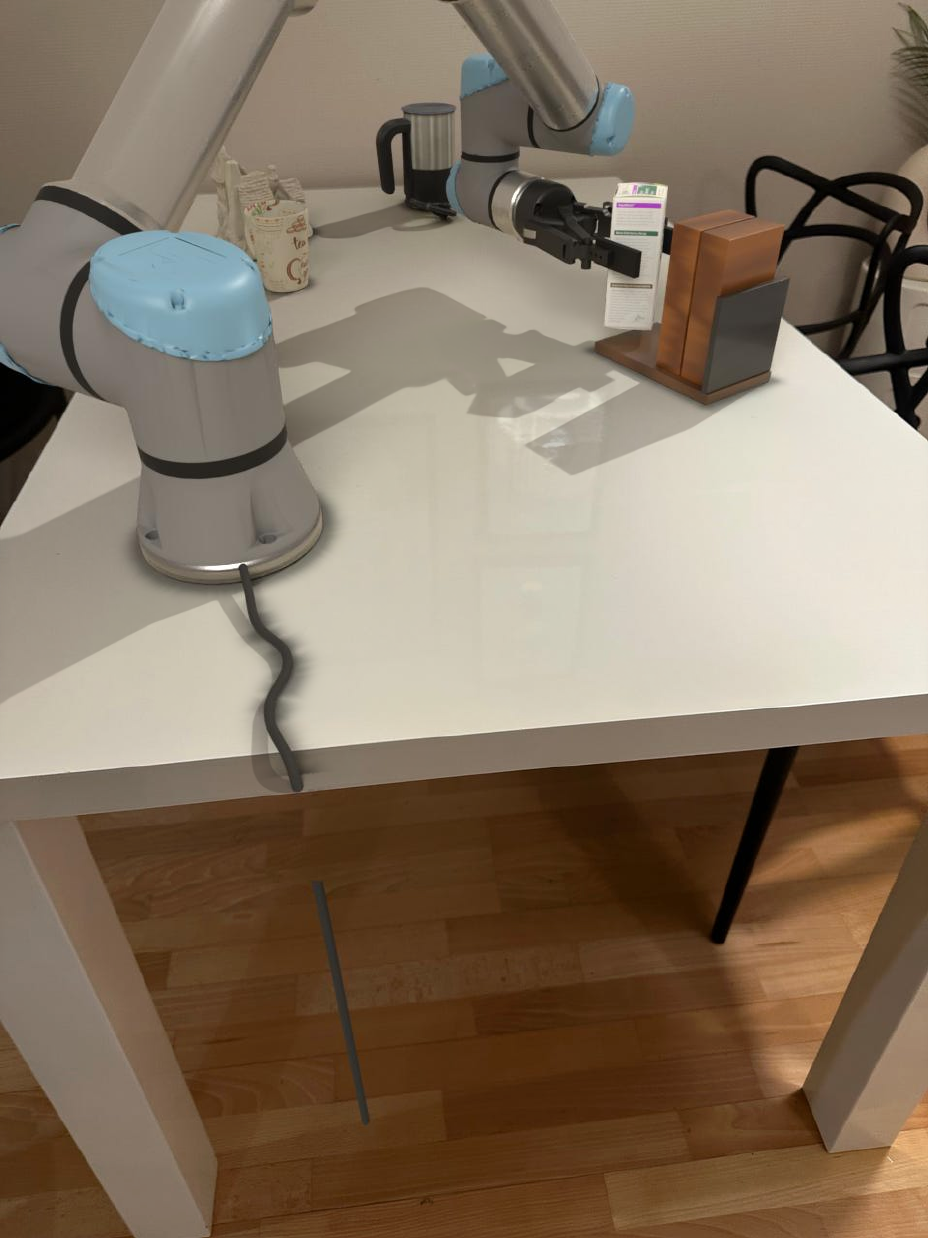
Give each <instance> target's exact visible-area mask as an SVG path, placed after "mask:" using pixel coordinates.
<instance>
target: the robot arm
mask: <svg viewBox="0 0 928 1238" xmlns="http://www.w3.org/2000/svg"><path fill="white" fill-rule="evenodd" d="M318 1H319V0H165V2H164V3H163V6H162V7H161V9H160V11H159V13H158V15H157V16H156V18H155V20H154V23H153V25H152V26H151V28H150V30H149V32H148V34H147V36H146V38H145V39H144V42H143V43H142V45H141V47H140V49H139V51H138V53H137V55H136V56H135V58H134V60H133V62H132V64H131V66H130V67H129V69H128V71H127V74H126V76H125V77H124V78H123V81H122V83H121V85H120V87H119V89H117V93H116V94H115V96H114V98H113V100H112V102H111V103H110V106H109V107H108V109H107V111H106V112H105V115H104V117H103V118H102V120H101V122H100V124H99V126H98V127H97V130H96V132H95V134H94V136H93V138H92V140H91V141H90V142H89V145H88V147H87V149H86V151H85V152H84V154H83V156H82V158H81V160H80V162H79V164H78V166H77V167H76V169H75V171H74V173H73V175H72V177H71V178H70V179H64V180H57V181H51V182H50V181H49V182H46V183H44V184H42V186H41V188H40V189H39V190H38V192H37V195H35V196H36V197H34V200H33V202H32V204H31V205H30V208H29V210H28V211H27V213H26V215H25V217H24V219H23V221H22V223H21V224H20V223H16V222H15V223H10V224H5V225H3V226H1V227H0V363H2V364H3V365H5V366H6V367H7V368H10V369H12V370H13V371H16V372H19V373H21V374H23V375H25V376H27V377H28V378H30V379H31V380H32V381H34V382H36V383H39V384H44V385H48V386H52V387H59V388H61V389H62V388H63V389H66V390H68V391H72V392H74V393H78V394H81V395H84V396H88V397H91V398H93V399H96V400H99V401H102V402H105V403H109V404H111V405H114V406H117V407H119V408H123V409H124V410H125V411H126V413H127V417H128V420H129V424H130V427H131V431H132V435H133V438H134V441H135V444H136V449H137V452H138V456H139V459H140V464H141V470H140V480H139V489H138V490H139V491H138V503H137V512H136V513H137V514H136V528H135V529H136V530H135V531H136V535H137V539H138V543H139V545H140V549H141V553H142V555H143V557H144V559H145V561H146V562H147V563H148V564H149V566H151V567H152V568H153V569H154V570H156V571H157V572H159V573H161V574H163V575H165V576H167V577H169V578H172V579H175V580H178V581H183V582H187V583H195V584H205V585H207V584H208V585H216V584H217V585H220V584H231V583H238V582H241V585H242V589H243V592H244V598H245V605H246V611H247V615H248V619H249V623H250V624H251V626H252V628H253V629H254V631H255V632H256V633H257V634H258V635H259V636H260V637H261V638H262V639H263V640H264V641H265V642H267V643H268V644H269V645H271V646H272V647H273V648H275V650H277V651H278V653H279V654H280V656H281V659H282V666H281V670H280V672H279V674H278V676H277V678H276V679H275V681H274V683H273V684H272V686H271V688H270V689H269V691H268V693H267V695H266V698H265V701H264V705H263V720H264V725H265V728H266V732H267V733H268V736H269V738H270V740H271V741H272V743H273V744H274V747H275V749H276V750H277V752H278V753H279V755H280V758H281V759H282V762H283V764H284V767H285V770H286V772H287V776H288V779H289V783H290V786H291V789H292V791H293V792H294V793H297V794H298V793H301V792H302V791H303V790H304V784H303V780H302V777H301V772H300V769H299V766H298V764H297V761H296V757H295V755H294V754H293V751H292V749H291V748H290V746H289V743H288V742H287V740H286V739H285V737H284V735H283V734H282V732H281V731H280V728H279V726H278V723H277V721H276V704H277V701H278V698H279V696H280V695H281V693H282V691H283V689H284V688H285V686H286V685H287V683H288V681H289V679H290V677H291V675H292V672H293V667H294V661H293V660H294V659H293V655H292V652H291V649H290V648H289V646H288V645H287V644H286V643H285V642H284V641H283V640H282V639H281V638H279V637H278V636H277V635H275V634H274V633H273V632H271V631H270V629H268V628H267V627H266V626H265V625H264V623H263V622H262V620H261V617H260V616H259V613H258V610H257V602H256V598H255V592H254V588H253V584H252V580H253V579H257V578H260V577H264V576H267V575H270V574H272V573H273V574H274V573H275V572H277V571H280V570H281V569H284V568H286V567H288V566H290V565H291V564H293V563H295V562H296V561H298V560H299V559H301V558H302V557H303V556H304V555H305V554H307V553H308V552H309V551H310V550H311V549H312V548H313V546H314V545H315V544H316V543H317V541H318V540H319V538H320V536H321V533H322V529H323V515H322V507H321V501H320V497H319V496H318V493H317V492H316V489H315V488H314V485H313V484H312V481H311V480H310V478H309V476H308V474H307V473H306V471H305V468H304V466H303V465H302V464H301V462H300V459H299V458H298V455H297V453H296V452H295V450H294V448H293V446H292V445H291V443H290V439H289V435H288V429H287V423H286V416H285V407H284V400H283V393H282V386H281V379H280V371H279V364H278V357H277V356H278V355H277V350H276V341H275V333H274V328H273V317H272V308H271V306H270V304H269V301H268V300H267V297H266V291H265V286H264V283H263V280H262V276H261V273H260V269H259V267H258V266H257V264H256V263H255V261H254V260H252V259H251V258H250V257H249V256H248V255H247V254H246V253H245V252H244V251H243V250H241V249H240V248H238V247H237V246H235V245H233V244H232V243H229V242H227V241H225V240H222V239H220V238H216V237H215V236H213V235H210V234H206V233H203V232H202V233H201V232H197V231H196V232H195V231H190V230H182V231H180V229H181V227H182V226H183V223H184V222H185V219H186V218H187V216H188V214H189V212H190V210H191V208H192V206H193V205H194V202H195V200H196V198H197V196H198V195H199V192H200V190H201V188H202V186H203V184H204V183H205V180H206V179H207V177H208V175H209V173H210V171H211V169H212V167H213V165H214V164H215V161H216V160H217V159H216V157H217V155H218V153H219V151H220V149H221V147H222V145H223V146H224V144H225V141H226V139H227V137H228V136H229V134H230V131H231V129H232V127H233V126H234V124H235V121H236V120H237V118H238V116H239V114H240V112H241V111H242V108H243V106H244V104H245V103H246V101H247V98H248V96H249V94H250V92H251V90H252V88H253V87H254V85H255V83H256V80H257V79H258V77H259V75H260V73H261V71H262V69H263V67H264V65H265V63H266V61H267V59H268V57H269V56H270V54H271V51H272V50H273V48H274V45H275V44H276V41H277V40H278V37H279V36H280V34H281V33H282V30H283V28H284V26H285V24H286V22H287V20H288V18H289V17H290V18H292V17H293V18H294V17H301V16H305V15H307V14H308V13H311V11H312V10H314V8H315V7H316V5H317V3H319V2H318ZM437 1H438V2H440V3H445V4H451V5H452V7H453V8H454V9H455V11H456V12H457V13H458V15H459V16H460V17H461V19H462V20H463V21H464V22H465V23H466V25H467V27H469V29H470V30H471V31H472V33H473V34H474V35H475V36H476V38H477V39H478V40H479V42H480V43H481V44H482V46H483V47H484V48H485V50H486V51H487V53H485V52H484V53H477V54H472V55H469V56H468V57H466V58H465V59H464V60H463V62H462V65H461V68H460V69H461V71H460V93H459V94H460V95H459V96H458V97H459V101H460V103H459V104H460V136H461V137H460V140H461V142H460V143H461V144H460V145H461V155H460V159H458V160H457V161H455V165H454V166H453V167H452V169H451V171H450V175H449V178H448V180H447V183H446V193H447V198H448V201H449V203H450V205H451V207H450V208H452V209H453V210H455V211H456V212H457V214H459V215H461V216H462V217H464V218H466V219H467V220H468V221H470V222H472V223H475V224H478V225H482V226H485V227H488V228H490V229H494V230H497V231H499V232H500V233H503V234H507V235H509V236H512V237H514V238H516V240H517V241H518V242H521V243H523V244H525V245H529V246H532V247H535V248H537V249H539V250H541V251H542V252H545V254H548V255H550V256H551V257H554V258H555V259H557V260H559V261H561V262H562V263H564V264H566V265H569V266H571V265H575V264H576V260H579V261H580V269H581V270H587V271H588V270H592V262H593V264H594V265H598V266H600V267H603V268H606V269H607V270H608V269H610V270H613V271H616V272H618V273H621V274H623V275H626V276H628V277H631V278H634V279H635V278H638V277H639V274H640V265H641V255H642V251H639V250H637V249H634V248H631V247H628V246H626V245H623V244H620V243H617V242H614V241H612V240H610V234H611V221H612V208H613V201H612V202H611V201H608V200H607V201H604V202H602V207H601V206H600V207H599V206H594V205H589V203H587V202H583V201H582V202H581V201H578V200H577V197H576V196H575V194H574V192H573V191H572V189H571V188H570V187H569V186H567V185H566V184H564V183H561V182H558V181H555V180H551V179H548V178H545V177H543V176H539V175H536V174H533V173H529V172H526V171H523V170H520V169H519V167H520V156H521V149H520V147H523V148H530V149H537V150H538V149H539V150H546V151H552V152H560V153H561V152H562V153H566V154H567V153H568V154H576V155H583V156H588V157H591V158H593V157H594V156H595V157H615V156H617V155H619V154H621V153H622V152H623V151H624V149H625V148H626V147H627V144H628V142H629V140H630V138H631V137H630V136H631V135H632V131H633V127H634V121H635V112H636V111H635V97H634V95H633V92H632V90H631V89H630V88H629V87H628V86H626V85H624V84H618V83H614V82H613V81H608V82H602V81H600V79H599V77H598V76H597V74H596V73H595V71H594V69H593V68H592V66H591V64H590V62H589V60H588V59H587V57H586V56H585V53H584V52H583V50H582V49H581V47H580V45H579V44H578V42H577V39H575V36H574V35H573V34H572V31H570V29H569V26H568V25H567V23H566V22H565V20H564V19H563V17H562V15H561V13H560V12H559V10H558V8H557V6H556V5H555V4H554V1H553V0H437ZM668 223H669V217H668V216H665V224H664V235H663V247H662V254H664V255H667V256H670V252H671V244H672V236H673V228H674V227H672V226H669V225H668ZM310 882H311V885H312V890H313V895H314V900H315V904H316V909H317V915H318V919H319V923H320V928H321V932H322V937H323V942H324V947H325V951H326V956H327V961H328V965H329V971H330V975H331V981H332V984H333V990H334V994H335V998H336V1003H337V1009H338V1014H339V1018H340V1023H341V1027H342V1033H343V1037H344V1041H345V1046H346V1051H347V1056H348V1062H349V1066H350V1071H351V1075H352V1076H351V1077H352V1079H353V1086H354V1090H355V1095H356V1100H357V1105H358V1109H359V1113H360V1117H361V1122H362V1125H364V1126H368V1125H369V1124H370V1122H371V1119H370V1113H369V1110H368V1109H369V1108H368V1104H367V1098H366V1094H365V1088H364V1083H363V1078H362V1073H361V1072H362V1071H361V1067H360V1063H359V1058H358V1052H357V1048H356V1041H355V1038H354V1037H355V1036H354V1032H353V1026H352V1021H351V1017H350V1011H349V1006H348V1001H347V996H346V991H345V985H344V980H343V975H342V971H341V965H340V960H339V955H338V950H337V945H336V941H335V936H334V931H333V925H332V921H331V916H330V910H329V906H328V902H327V895H326V891H325V885H324V882H323V881H317V880H311V881H310Z"/></svg>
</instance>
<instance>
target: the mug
mask: <svg viewBox="0 0 928 1238" xmlns="http://www.w3.org/2000/svg"><path fill="white" fill-rule="evenodd" d="M244 216H245V220H246V222H245V238H246V242H247V245H248V247H249V249H250V251H251V253H252V254H253V255H254V257H255V258H256V259H257V260H256V262H257V265H258V266H257V267H258V270H259V272H260V275H261V278H262V282H263V287H264V289H265V290H267V291H269V292H274V293H292V292H297V291H299V290H302V289H305V288H306V287H307V286H308V284H309V237H308V224H309V208H308V206H307V204H306V205H305V204H304V203H301V202H297V201H289V200H275V201H266V202H260V203H256V204H253V205H250V206H248V207H247V208H246V209H245V210H244Z"/></svg>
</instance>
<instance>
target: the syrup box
mask: <svg viewBox="0 0 928 1238" xmlns="http://www.w3.org/2000/svg"><path fill="white" fill-rule="evenodd" d="M668 189H669V187H668V184H664V183H656V182H646V181H645V182H643V181H642V182H641V181H640V182H639V181H638V182H635V181H634V182H624V183H623V182H622V183H621V182H618V183H617V186H616V188H615V191H614V193H613V198H612V203H613V208H612V221H611V234H610V238H609V240H612V241H614V242H617V243H620V244H623V245H626V246H628V247H631V248H634V249H637V250H639V251H642V255H641V265H640V274H639V277H638V278H635V279H634V278H631V277H628V276H626V275H623V274H621V273H618V272H616V271H613V270H610V269H608V268H607V274H606V275H607V276H606V286H605V287H606V289H605V301H604V302H605V303H604V314H603V315H604V316H603V326H604V327H606V328H611V329H619V330H620V329H621V330H652V326H653V323H654V320H655V314H656V308H657V307H656V305H657V298H658V289H659V281H660V280H659V279H660V272H661V265H662V256H663V253H662V247H663V235H664V224H665V217H666V211H667V200H668Z"/></svg>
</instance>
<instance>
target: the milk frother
mask: <svg viewBox="0 0 928 1238" xmlns="http://www.w3.org/2000/svg"><path fill="white" fill-rule="evenodd" d="M400 110H401V111H402V116H403V117H399V118H392V119H388V120H386V121H385V122H384V123H383V124H381V126H380V127H379V129H378V131H377V133H376V136H375V149H376V155H377V156H376V157H377V164H378V165H377V167H378V173H379V180H380V181H379V182H380V188H381V191H382V192H383V193H385V194H386V195H393V194H394V193H395V192H396V182H395V172H394V171H395V170H394V161H393V151H392V142H393V139H394V138H395V136H397V135H400V134H401V144H402V145H401V147H402V166H403V167H402V171H403V174H402V176H403V193H404V196H405V199H404V204H405V205H406V206H407V207H408V208H410V209H411V208H412V209H416V210H424V211H425V210H426V212H429V213H431V214H433V215H434V216H436V217H438V218H440V220H441V221H447V220H448V217H454V218H455V217H457V215H458V213H457V212H456V211H455V210H454V209H453V208H452V207H451V205H450V203H449V201H448V198H447V193H446V183H447V180H448V178H449V175H450V171H451V169H452V167H453V166H454V165H455V163H456V110H457V106H456V105H454V104H450V103H446V102H415V103H409V104H408V103H407V104H404V105H402V106H401V107H400Z"/></svg>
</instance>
